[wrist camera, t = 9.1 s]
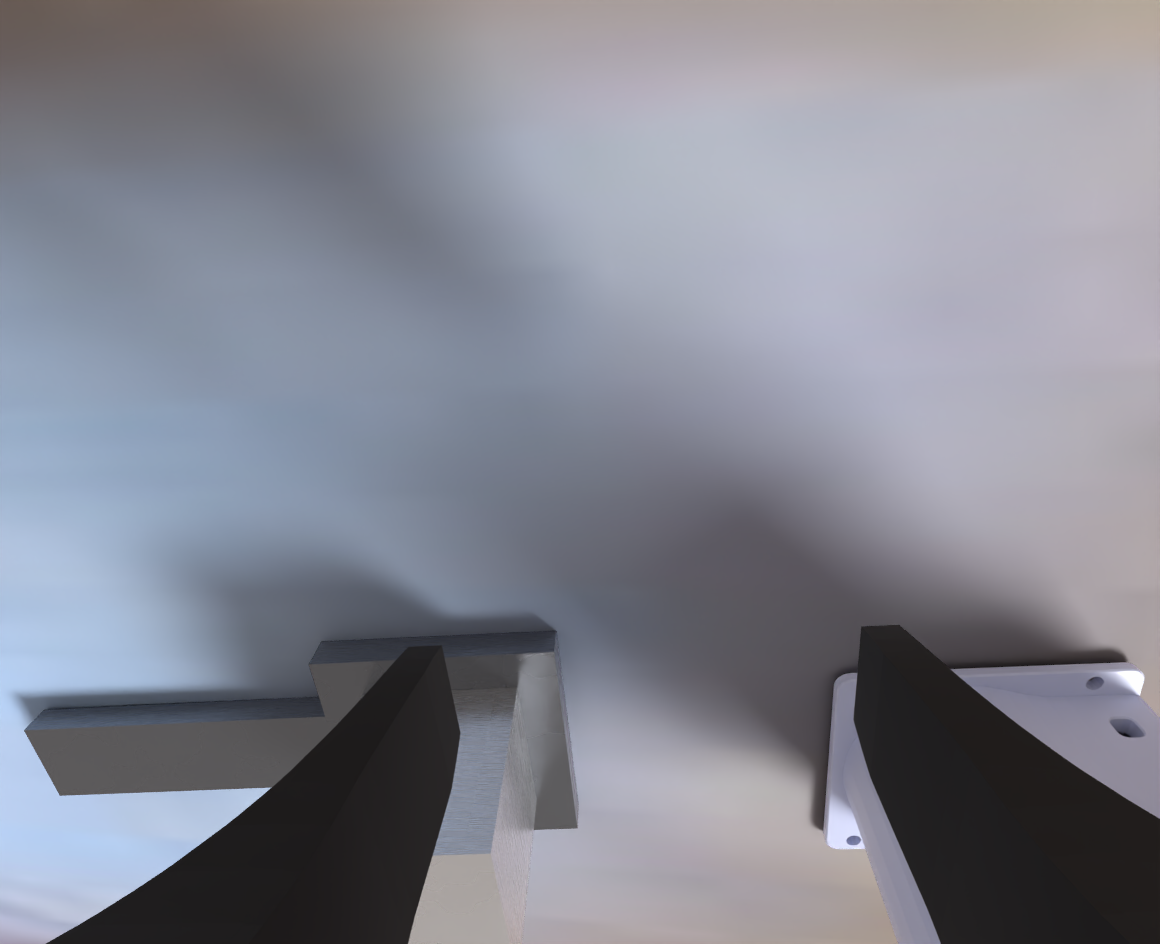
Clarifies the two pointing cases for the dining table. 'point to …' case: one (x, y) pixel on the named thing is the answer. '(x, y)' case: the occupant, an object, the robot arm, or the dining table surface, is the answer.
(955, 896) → the robot arm
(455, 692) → the brushed metal cube
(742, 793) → the dining table surface
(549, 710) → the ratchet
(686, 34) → the dining table surface
